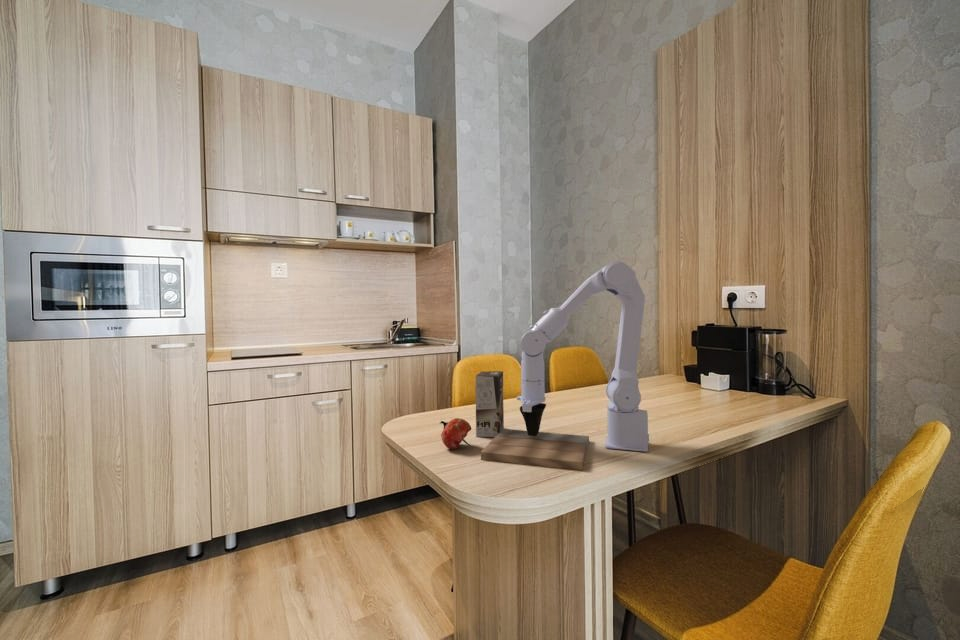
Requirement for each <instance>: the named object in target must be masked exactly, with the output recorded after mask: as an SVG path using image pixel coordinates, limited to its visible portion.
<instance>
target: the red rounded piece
mask: <svg viewBox="0 0 960 640" xmlns="http://www.w3.org/2000/svg"><path fill="white" fill-rule="evenodd" d="M439 424H442V425H443V430H442V431H441V434H440V438H441V441H442V443H443V445H444V446H445V447H446V448H447V449H450V450H453V451H455V450H456V449H458V447H460V445H461V443H462V442H463V443H465V444H466V445H468V446H469V447H470V448H471V449H474V447H473V446H472V445H471V444H470V443H468V442H467V441H466V439H465V438H466V437H467V435H468V433H469V432H470V431H472V427H471V426H472V425H470V423H469V422H468V420H467V421H466V420H465V419H463V418H459V417H457V418H456V417H455V418H453V419H451V420H450V421H448V422H447V421H443V420H441V421H440V422H439Z"/></svg>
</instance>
